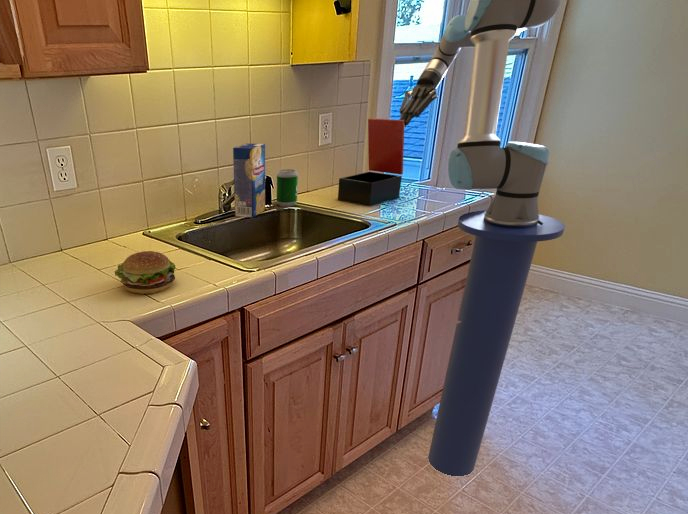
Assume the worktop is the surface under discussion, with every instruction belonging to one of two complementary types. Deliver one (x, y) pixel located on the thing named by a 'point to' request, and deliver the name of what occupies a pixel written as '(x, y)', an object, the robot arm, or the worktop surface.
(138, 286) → the food
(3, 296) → the worktop surface
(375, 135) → the lid
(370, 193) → the black open box
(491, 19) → the robot arm
